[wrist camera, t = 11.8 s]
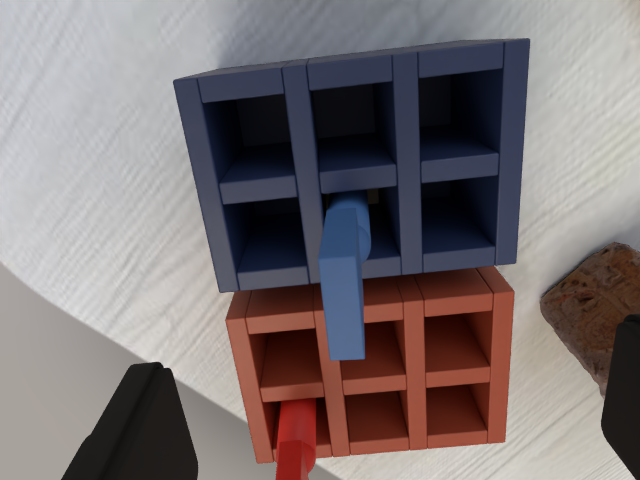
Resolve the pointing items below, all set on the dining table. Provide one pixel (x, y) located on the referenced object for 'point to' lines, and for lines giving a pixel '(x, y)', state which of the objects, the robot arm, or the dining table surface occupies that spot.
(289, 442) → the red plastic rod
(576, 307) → the food item
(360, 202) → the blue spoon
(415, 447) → the red caddy
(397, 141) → the blue caddy
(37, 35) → the dining table surface
